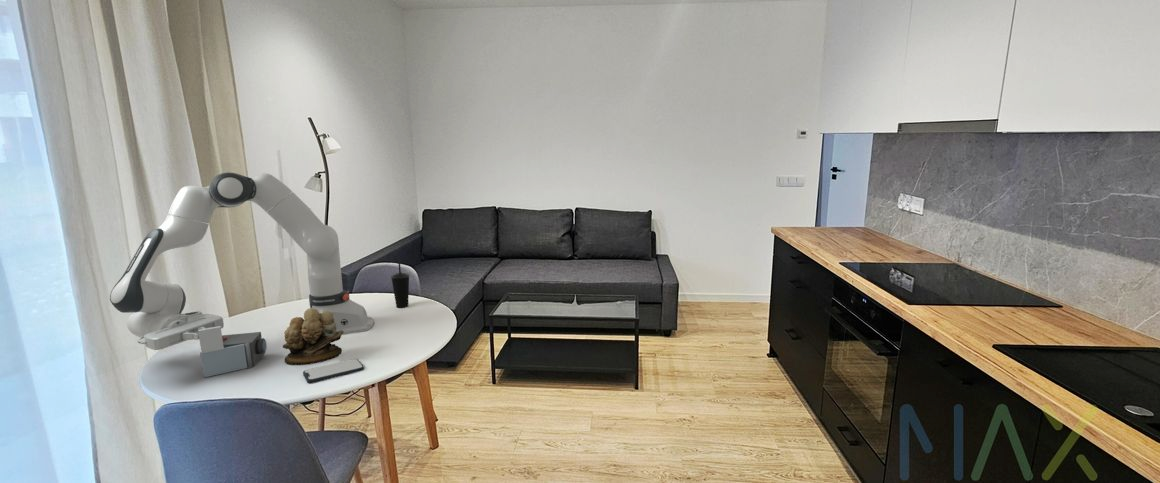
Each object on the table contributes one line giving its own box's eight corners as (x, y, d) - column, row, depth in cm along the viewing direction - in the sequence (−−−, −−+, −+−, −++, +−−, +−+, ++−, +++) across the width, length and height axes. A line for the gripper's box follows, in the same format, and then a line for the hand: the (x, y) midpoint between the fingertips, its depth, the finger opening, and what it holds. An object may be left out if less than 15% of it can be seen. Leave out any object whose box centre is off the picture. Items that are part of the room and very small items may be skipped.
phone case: (357, 362, 167) (302, 375, 157) (357, 357, 167) (302, 370, 157) (365, 371, 160) (308, 385, 151) (365, 367, 160) (307, 380, 150)
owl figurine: (343, 345, 179) (339, 298, 176) (346, 358, 169) (342, 308, 166) (284, 355, 171) (278, 306, 168) (283, 369, 161) (277, 317, 157)
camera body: (270, 353, 172) (267, 329, 171) (261, 365, 163) (258, 340, 162) (219, 359, 168) (215, 334, 167) (207, 371, 159) (203, 345, 158)
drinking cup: (405, 309, 217) (402, 263, 213) (389, 308, 218) (385, 262, 214) (415, 304, 224) (412, 259, 220) (399, 303, 226) (395, 258, 222)
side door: (252, 366, 163) (246, 321, 160) (252, 367, 162) (246, 322, 159) (204, 377, 155) (196, 330, 153) (204, 378, 155) (196, 331, 152)
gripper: (132, 331, 149) (164, 337, 144) (203, 309, 168) (234, 314, 163) (135, 351, 150) (167, 358, 145) (206, 327, 169) (236, 333, 164)
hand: (203, 335), depth 154 cm, fingers closed
